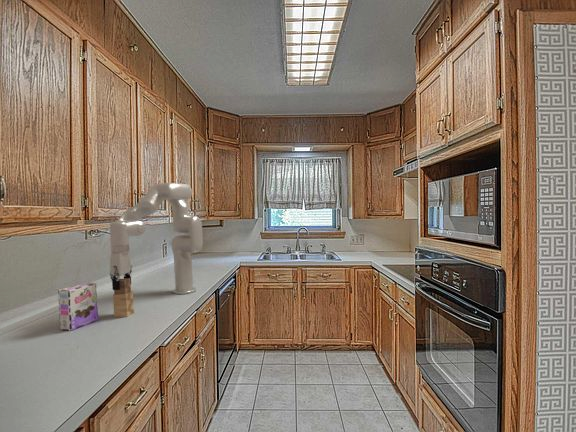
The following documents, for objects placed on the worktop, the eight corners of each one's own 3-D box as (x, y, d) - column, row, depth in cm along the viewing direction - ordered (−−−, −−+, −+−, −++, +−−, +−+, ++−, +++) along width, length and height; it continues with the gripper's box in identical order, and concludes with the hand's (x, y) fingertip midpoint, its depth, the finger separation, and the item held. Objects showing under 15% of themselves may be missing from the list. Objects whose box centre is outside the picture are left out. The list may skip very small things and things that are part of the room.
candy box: (70, 331, 146) (68, 290, 146) (59, 330, 148) (57, 289, 147) (98, 320, 159) (96, 282, 159) (88, 319, 161) (86, 282, 161)
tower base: (121, 313, 169) (120, 302, 169) (133, 312, 169) (133, 302, 168) (114, 317, 163) (113, 305, 163) (127, 316, 163) (126, 305, 163)
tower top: (120, 302, 169) (120, 291, 169) (133, 302, 168) (132, 291, 168) (113, 305, 163) (112, 294, 163) (126, 305, 162) (126, 294, 162)
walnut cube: (120, 291, 168) (119, 278, 168) (130, 291, 168) (130, 278, 168) (114, 294, 163) (113, 281, 163) (125, 294, 163) (124, 280, 163)
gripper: (122, 247, 174) (124, 283, 174) (101, 252, 156) (103, 292, 157) (137, 246, 173) (139, 282, 174) (118, 251, 156) (120, 291, 156)
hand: (122, 287), depth 165 cm, fingers open, 9 cm apart
